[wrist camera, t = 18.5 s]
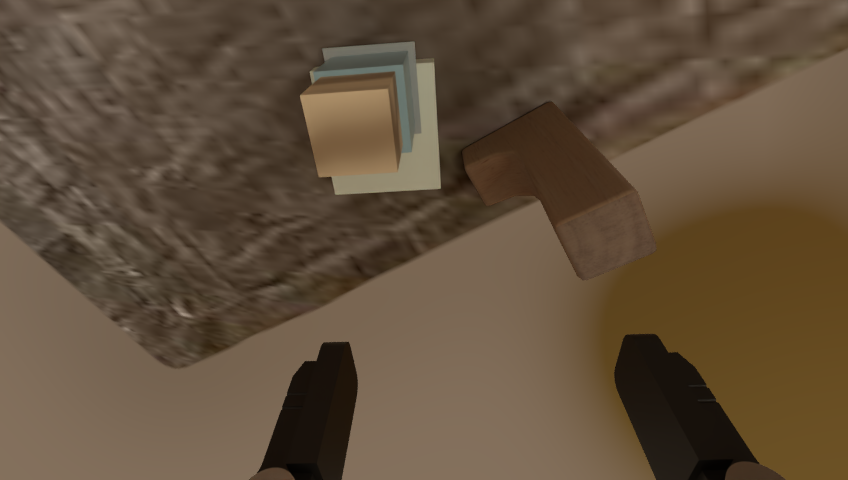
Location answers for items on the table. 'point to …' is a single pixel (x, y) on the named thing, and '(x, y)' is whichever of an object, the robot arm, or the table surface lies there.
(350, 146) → the oak block
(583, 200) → the wooden block
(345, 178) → the foundation board
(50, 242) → the table surface
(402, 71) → the cube
